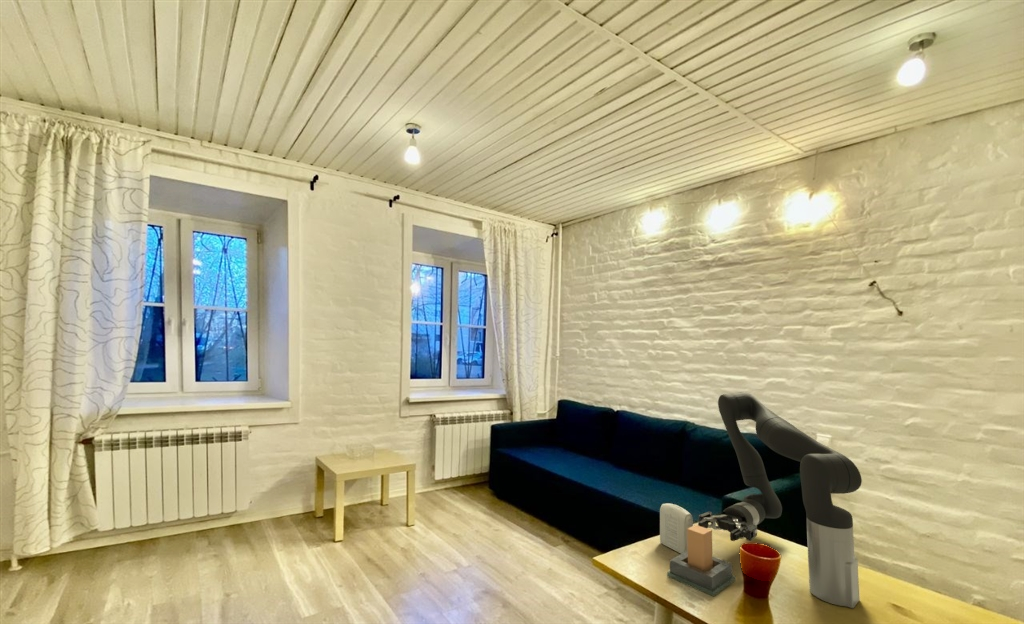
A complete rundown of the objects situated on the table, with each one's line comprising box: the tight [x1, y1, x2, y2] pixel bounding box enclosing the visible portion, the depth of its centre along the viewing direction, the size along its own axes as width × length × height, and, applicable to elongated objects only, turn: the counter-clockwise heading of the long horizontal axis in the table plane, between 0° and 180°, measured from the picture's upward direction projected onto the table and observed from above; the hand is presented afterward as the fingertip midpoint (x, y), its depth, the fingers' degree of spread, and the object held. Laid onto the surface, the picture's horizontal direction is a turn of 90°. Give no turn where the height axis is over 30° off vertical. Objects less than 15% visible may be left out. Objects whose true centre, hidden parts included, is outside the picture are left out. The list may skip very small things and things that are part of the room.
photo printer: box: [659, 502, 694, 554], centre depth 130 cm, size 10×4×12 cm, turn 28°
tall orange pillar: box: [687, 524, 714, 571], centre depth 113 cm, size 4×4×11 cm
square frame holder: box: [666, 550, 736, 597], centre depth 112 cm, size 12×12×4 cm
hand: (715, 531), depth 118 cm, fingers open, 8 cm apart
